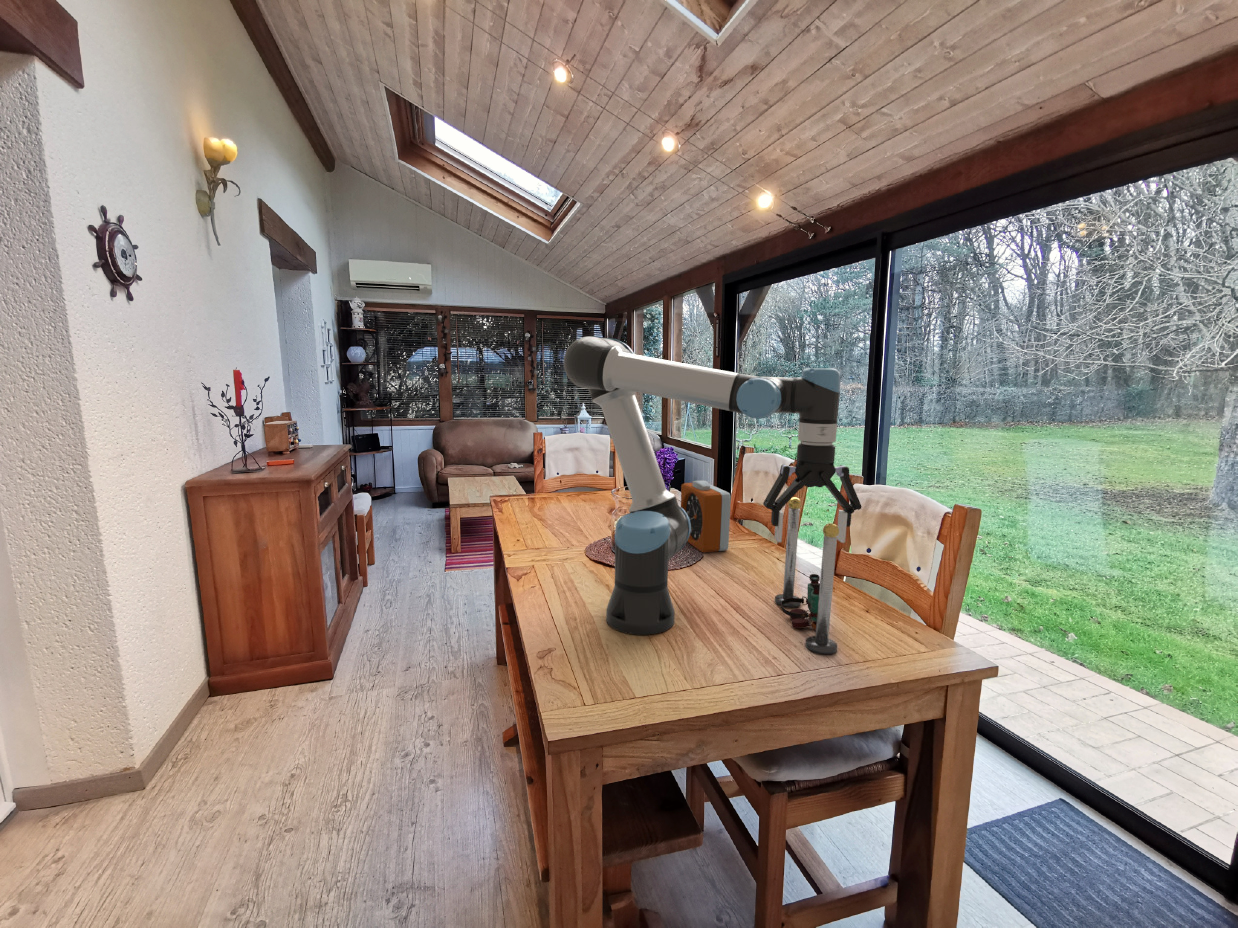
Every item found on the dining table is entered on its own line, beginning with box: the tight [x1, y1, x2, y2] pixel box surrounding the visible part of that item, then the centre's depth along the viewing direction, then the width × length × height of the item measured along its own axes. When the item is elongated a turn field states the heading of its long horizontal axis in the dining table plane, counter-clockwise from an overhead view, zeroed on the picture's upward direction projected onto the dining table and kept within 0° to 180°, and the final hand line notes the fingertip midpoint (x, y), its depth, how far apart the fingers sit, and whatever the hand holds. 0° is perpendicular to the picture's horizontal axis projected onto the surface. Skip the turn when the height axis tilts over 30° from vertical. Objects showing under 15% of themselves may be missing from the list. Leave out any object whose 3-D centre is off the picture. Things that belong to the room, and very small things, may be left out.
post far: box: [774, 496, 802, 609], centre depth 133 cm, size 6×6×26 cm
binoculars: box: [780, 573, 821, 630], centre depth 124 cm, size 9×11×10 cm
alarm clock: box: [680, 480, 732, 553], centre depth 178 cm, size 18×9×21 cm, turn 17°
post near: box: [804, 522, 839, 656], centre depth 112 cm, size 6×6×26 cm
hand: (809, 540), depth 122 cm, fingers open, 13 cm apart
